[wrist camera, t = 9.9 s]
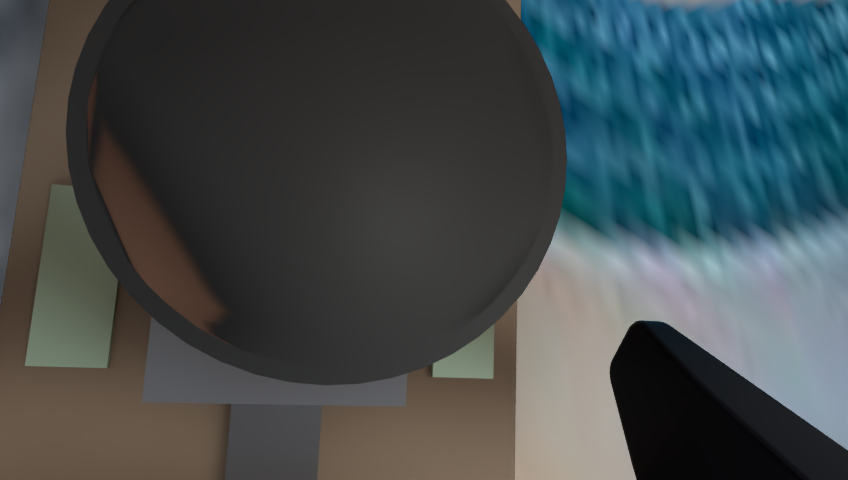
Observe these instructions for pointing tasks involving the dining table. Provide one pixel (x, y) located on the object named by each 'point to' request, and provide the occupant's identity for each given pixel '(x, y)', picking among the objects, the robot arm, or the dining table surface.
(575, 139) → the dining table surface
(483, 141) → the handle
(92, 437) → the press base
